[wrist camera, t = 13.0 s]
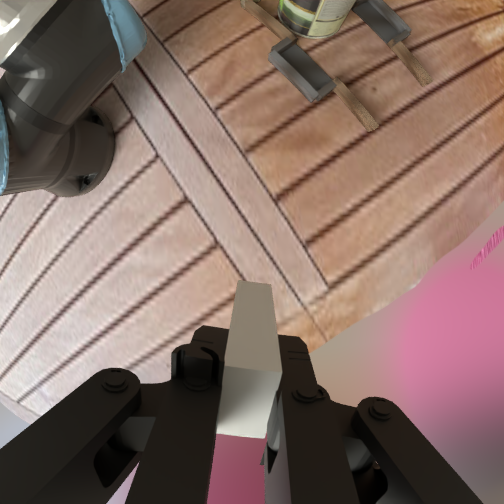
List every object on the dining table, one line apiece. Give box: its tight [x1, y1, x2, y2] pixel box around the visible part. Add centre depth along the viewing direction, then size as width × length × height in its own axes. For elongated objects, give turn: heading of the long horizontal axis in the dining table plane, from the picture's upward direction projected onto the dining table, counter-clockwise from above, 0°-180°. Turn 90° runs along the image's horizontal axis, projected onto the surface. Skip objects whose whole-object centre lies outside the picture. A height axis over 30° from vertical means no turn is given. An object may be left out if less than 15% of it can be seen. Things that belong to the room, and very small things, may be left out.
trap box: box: [240, 0, 433, 132], centre depth 33 cm, size 28×23×4 cm
